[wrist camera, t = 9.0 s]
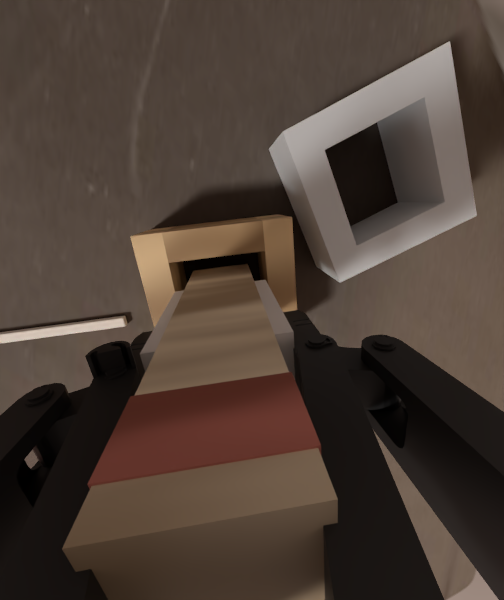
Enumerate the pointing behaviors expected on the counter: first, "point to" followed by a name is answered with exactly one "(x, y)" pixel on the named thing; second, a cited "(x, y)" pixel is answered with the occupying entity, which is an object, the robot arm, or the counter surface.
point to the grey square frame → (401, 161)
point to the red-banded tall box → (210, 465)
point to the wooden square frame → (216, 255)
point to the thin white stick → (62, 329)
